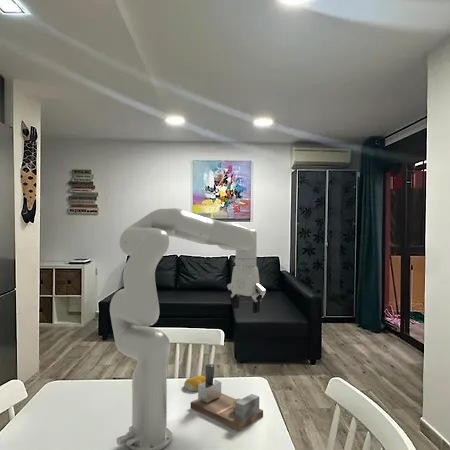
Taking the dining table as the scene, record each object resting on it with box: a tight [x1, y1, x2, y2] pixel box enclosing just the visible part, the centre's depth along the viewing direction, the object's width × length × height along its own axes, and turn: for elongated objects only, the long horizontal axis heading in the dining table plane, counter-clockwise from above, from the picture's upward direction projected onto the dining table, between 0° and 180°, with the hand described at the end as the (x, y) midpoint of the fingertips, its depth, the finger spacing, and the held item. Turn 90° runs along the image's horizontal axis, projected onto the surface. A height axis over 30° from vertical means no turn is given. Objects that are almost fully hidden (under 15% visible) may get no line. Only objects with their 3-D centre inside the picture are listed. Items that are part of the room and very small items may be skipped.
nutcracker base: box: [190, 392, 264, 432], centre depth 129 cm, size 12×21×7 cm, turn 47°
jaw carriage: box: [197, 363, 222, 403], centre depth 134 cm, size 7×4×11 cm, turn 137°
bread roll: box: [183, 375, 205, 392], centre depth 149 cm, size 8×9×4 cm
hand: (245, 310), depth 144 cm, fingers open, 9 cm apart
